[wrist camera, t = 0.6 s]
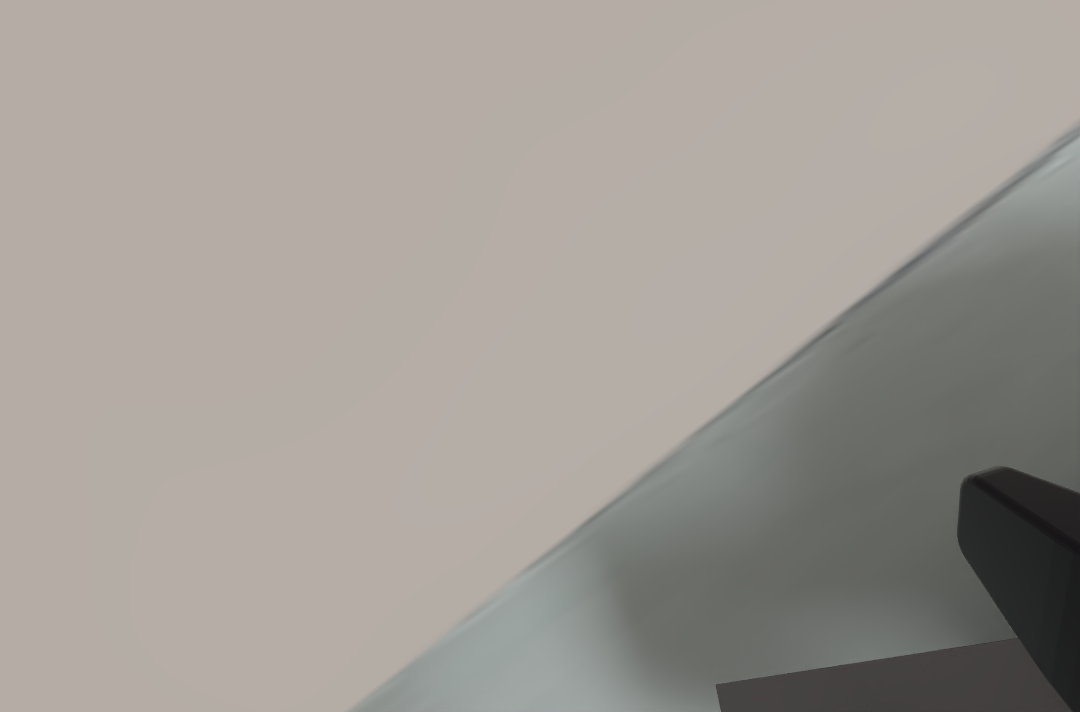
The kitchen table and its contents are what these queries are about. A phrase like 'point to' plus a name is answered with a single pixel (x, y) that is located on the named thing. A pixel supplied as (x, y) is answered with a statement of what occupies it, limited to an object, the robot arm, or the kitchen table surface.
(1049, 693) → the pot
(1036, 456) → the kitchen table surface
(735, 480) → the kitchen table surface
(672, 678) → the kitchen table surface
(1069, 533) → the robot arm
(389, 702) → the kitchen table surface
